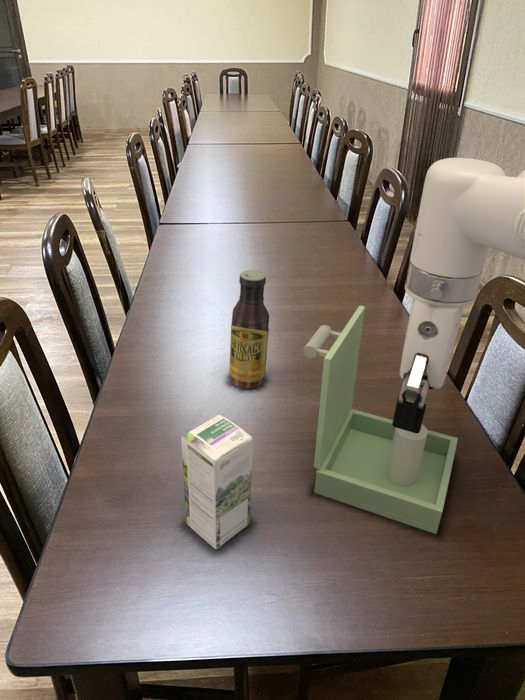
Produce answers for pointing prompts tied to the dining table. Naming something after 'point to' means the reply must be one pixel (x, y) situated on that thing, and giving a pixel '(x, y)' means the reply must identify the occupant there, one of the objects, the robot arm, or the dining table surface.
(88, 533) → the dining table surface
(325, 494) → the green open lid box
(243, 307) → the sauce bottle
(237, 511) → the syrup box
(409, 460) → the cylinder
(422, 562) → the dining table surface
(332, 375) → the green box lid
